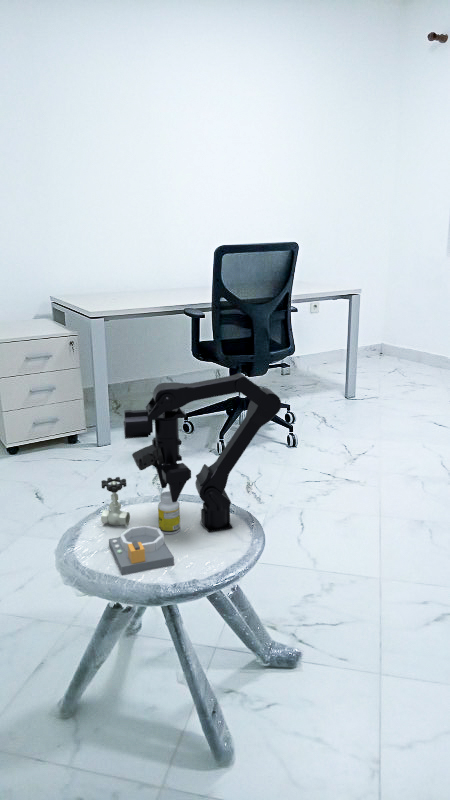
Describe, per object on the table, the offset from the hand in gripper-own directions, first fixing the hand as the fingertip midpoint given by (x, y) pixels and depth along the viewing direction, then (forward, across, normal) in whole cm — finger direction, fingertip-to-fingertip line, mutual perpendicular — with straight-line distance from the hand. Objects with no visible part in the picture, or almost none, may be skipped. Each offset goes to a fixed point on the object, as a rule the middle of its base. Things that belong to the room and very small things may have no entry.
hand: (168, 494), depth 157 cm
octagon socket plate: (+10, +10, -10) cm, 17 cm away
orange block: (+8, +15, -12) cm, 21 cm away
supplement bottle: (+10, 0, 0) cm, 10 cm away
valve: (+10, -8, -12) cm, 18 cm away
